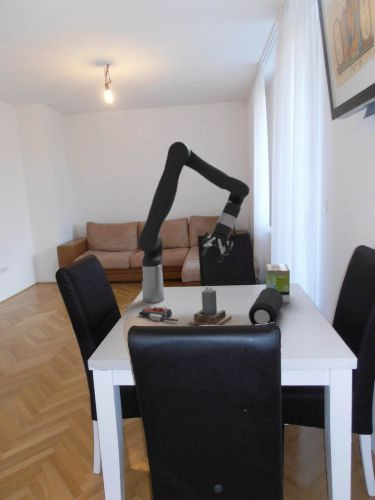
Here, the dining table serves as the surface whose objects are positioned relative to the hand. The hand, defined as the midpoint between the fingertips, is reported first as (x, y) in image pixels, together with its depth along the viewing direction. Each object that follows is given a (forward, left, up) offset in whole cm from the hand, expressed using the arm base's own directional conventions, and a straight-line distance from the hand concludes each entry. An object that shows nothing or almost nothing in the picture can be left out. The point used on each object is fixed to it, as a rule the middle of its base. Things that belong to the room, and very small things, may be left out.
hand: (210, 258), depth 156 cm
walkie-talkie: (-11, -23, -21) cm, 33 cm away
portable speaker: (+28, -7, -21) cm, 36 cm away
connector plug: (+9, -18, -20) cm, 29 cm away
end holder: (+9, -18, -21) cm, 29 cm away
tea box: (+23, +21, -21) cm, 38 cm away
